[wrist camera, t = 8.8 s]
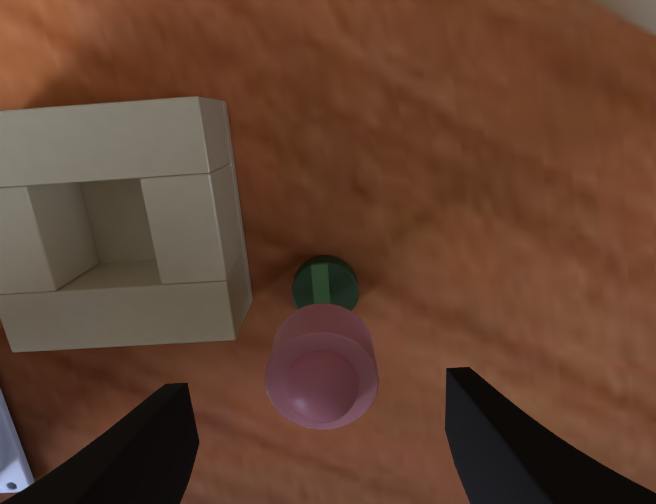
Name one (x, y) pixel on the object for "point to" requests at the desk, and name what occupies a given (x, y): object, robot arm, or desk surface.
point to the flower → (322, 350)
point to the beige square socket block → (120, 225)
